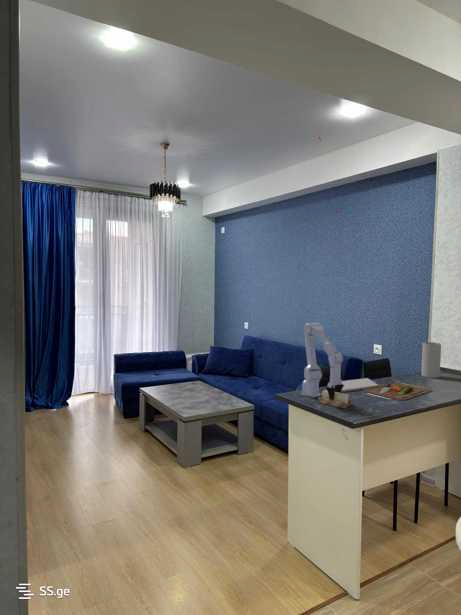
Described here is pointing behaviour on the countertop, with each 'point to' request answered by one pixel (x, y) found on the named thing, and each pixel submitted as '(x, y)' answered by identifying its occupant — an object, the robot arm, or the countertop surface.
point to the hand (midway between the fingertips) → (334, 398)
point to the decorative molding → (357, 384)
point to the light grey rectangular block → (336, 396)
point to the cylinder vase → (431, 359)
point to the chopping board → (397, 391)
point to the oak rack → (334, 402)
